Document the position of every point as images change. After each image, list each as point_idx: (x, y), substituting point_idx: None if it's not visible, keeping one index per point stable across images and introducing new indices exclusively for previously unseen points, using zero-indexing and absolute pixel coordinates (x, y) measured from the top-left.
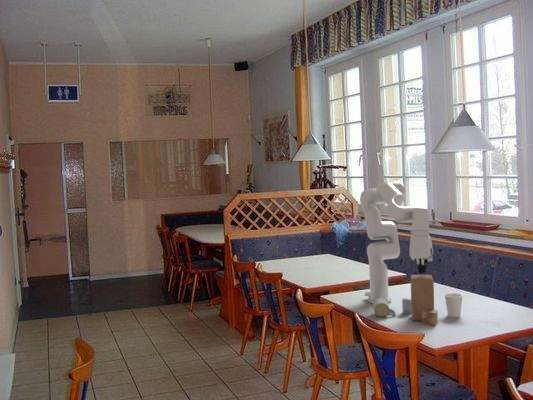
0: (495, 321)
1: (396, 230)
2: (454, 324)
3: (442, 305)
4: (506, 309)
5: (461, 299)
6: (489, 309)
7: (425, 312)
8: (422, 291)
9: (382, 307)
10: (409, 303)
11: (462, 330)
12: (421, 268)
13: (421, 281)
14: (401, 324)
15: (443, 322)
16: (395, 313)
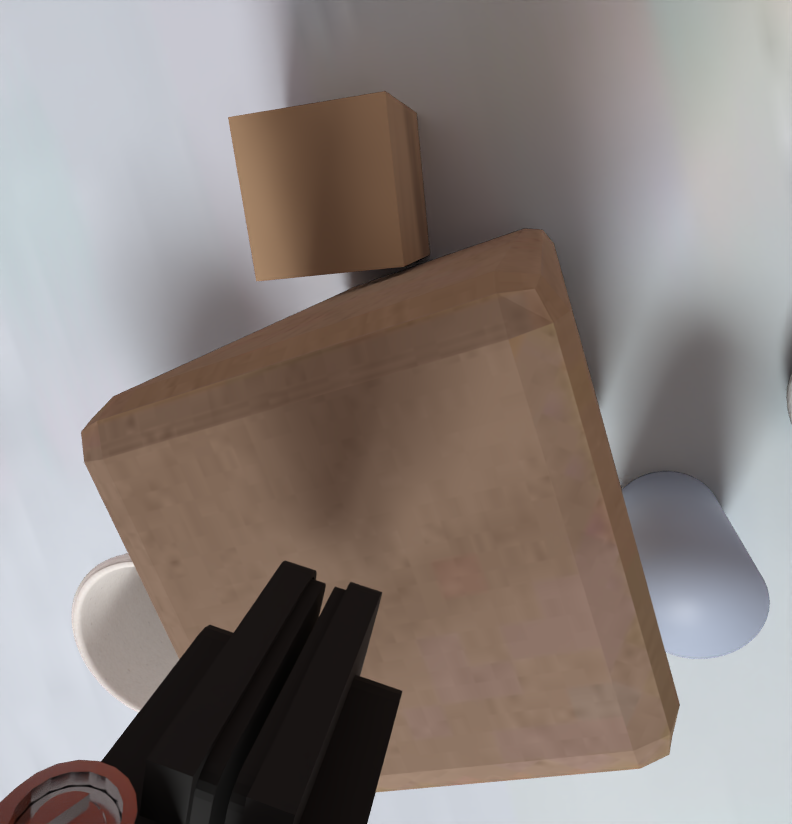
0: None
1: None
2: (165, 260)
3: (429, 813)
4: (20, 766)
5: (101, 599)
6: (104, 751)
7: (339, 100)
8: (361, 300)
9: None
10: (652, 532)
11: (44, 83)
12: (228, 652)
13: (312, 330)
14: (633, 38)
15: (265, 293)
16: (787, 392)
